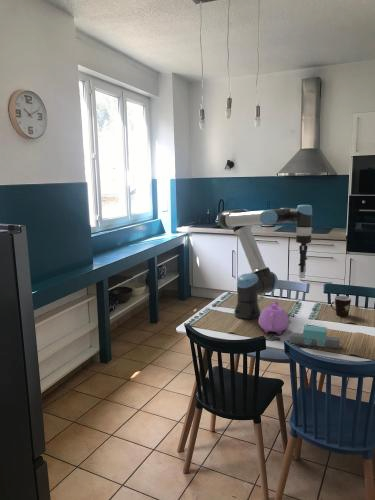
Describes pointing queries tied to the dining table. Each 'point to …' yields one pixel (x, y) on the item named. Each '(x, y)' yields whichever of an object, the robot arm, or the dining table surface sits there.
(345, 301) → the coffee mug
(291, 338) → the rail
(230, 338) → the dining table surface
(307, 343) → the clip
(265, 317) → the teapot
